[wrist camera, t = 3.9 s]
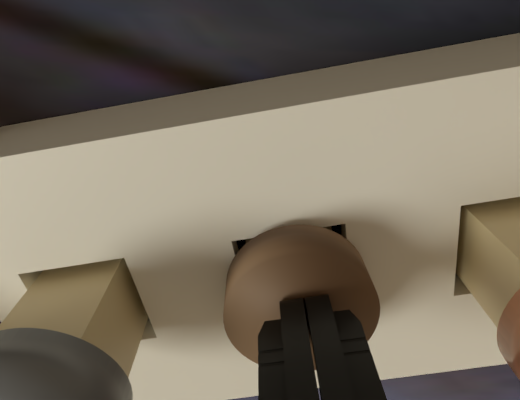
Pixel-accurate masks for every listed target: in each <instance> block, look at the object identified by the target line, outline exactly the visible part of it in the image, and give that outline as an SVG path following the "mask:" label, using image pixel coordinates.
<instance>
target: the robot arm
mask: <svg viewBox="0 0 520 400" xmlns="http://www.w3.org/2000/svg"><path fill="white" fill-rule="evenodd" d="M305 303H306V309H307V316H308V322H309V329H310V335H311V341H312V348H313V354H314V360H315V365H316V371H317V377H318V383H319V389H320V395H321V400H387V399H386V396H385V393H384V390H383V387H382V384H381V381H380V378H379V375H378V372H377V369H376V366H375V363H374V360H373V357H372V354H371V352H370V348H369V345H368V342H367V340H366V336H365V333H364V330H363V327H362V324H361V321H360V320H359V319H358V318H357V317H356V316H355V315H354V314H353V313H352V312H351V311H350V310H341V311H334V312H333V310H332V306H331V302H330V298H329V295H328V294H326V295H319V296H312V297H305ZM279 305H280V317H281V319H277V320H270V321H264V324H263V326H262V328H261V330H260V332H259V334H258V400H319V395H318V388H317V382H316V376H315V370H314V364H313V358H312V352H311V346H310V340H309V334H308V327H307V321H306V315H305V309H304V303H303V298H298V299H291V300H284V301H279Z"/></svg>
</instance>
